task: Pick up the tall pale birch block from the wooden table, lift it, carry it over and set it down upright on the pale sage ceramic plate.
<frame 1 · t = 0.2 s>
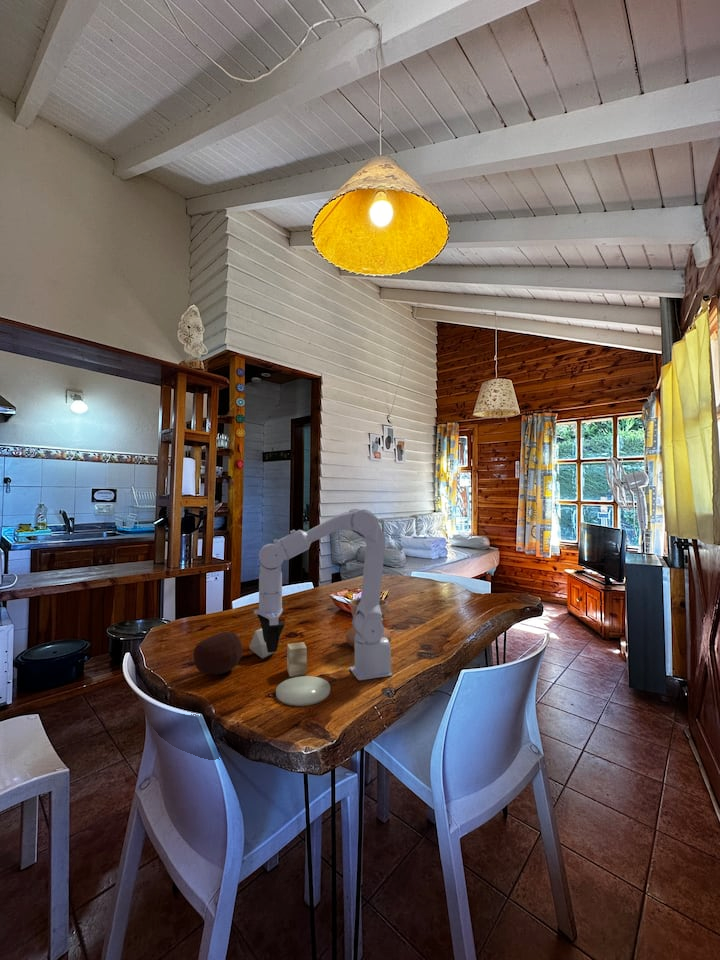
hand: (270, 646, 101), 10 cm above the table, tool pointing down, fingers open, 7 cm apart
ceramic jug: (367, 646, 128), on the table
potato: (218, 674, 107), on the table
block: (296, 672, 108), on the table
plate: (303, 692, 97), on the table
die: (264, 655, 120), on the table
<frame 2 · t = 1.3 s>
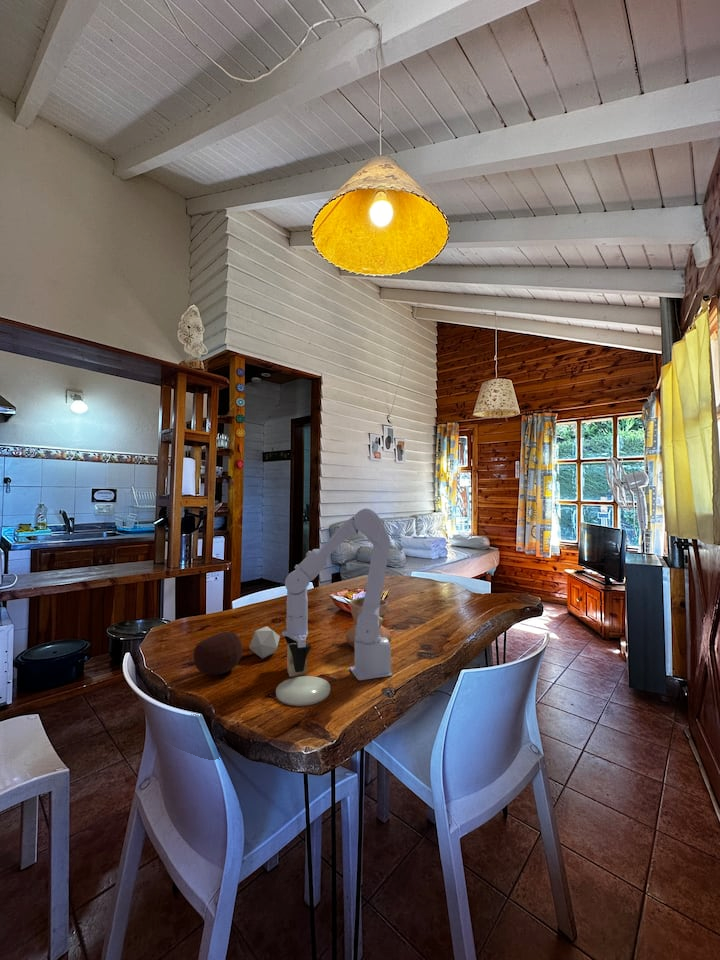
hand: (296, 665, 108), 2 cm above the table, tool pointing down, fingers open, 7 cm apart
nothing on the table moved.
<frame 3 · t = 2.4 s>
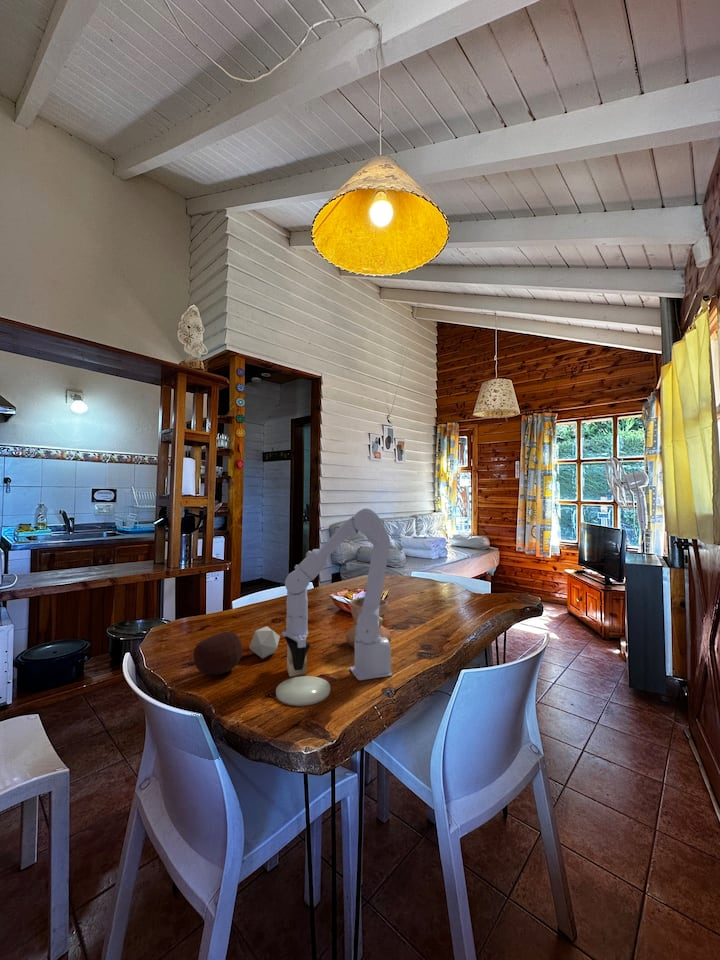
hand: (296, 665, 108), 2 cm above the table, tool pointing down, fingers closed on block, 4 cm apart
block: (296, 671, 108), on the table, touching gripper
everything else where it was.
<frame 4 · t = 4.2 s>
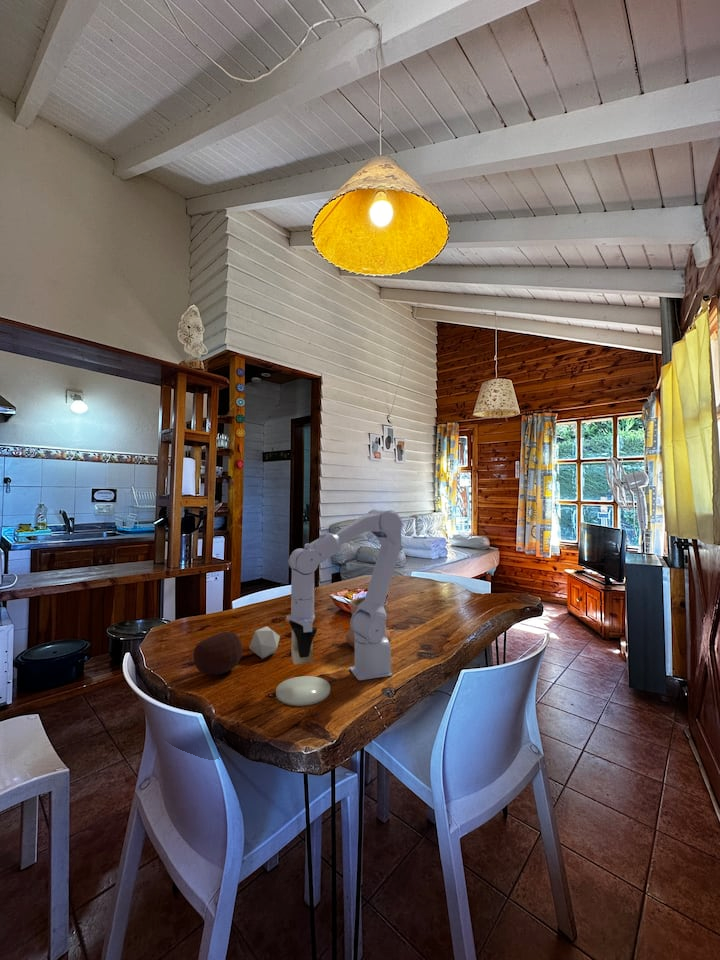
hand: (302, 653, 99), 9 cm above the table, tool pointing down, fingers closed on block, 4 cm apart
block: (301, 660, 99), point 7 cm above the table, touching gripper
everything else where it was.
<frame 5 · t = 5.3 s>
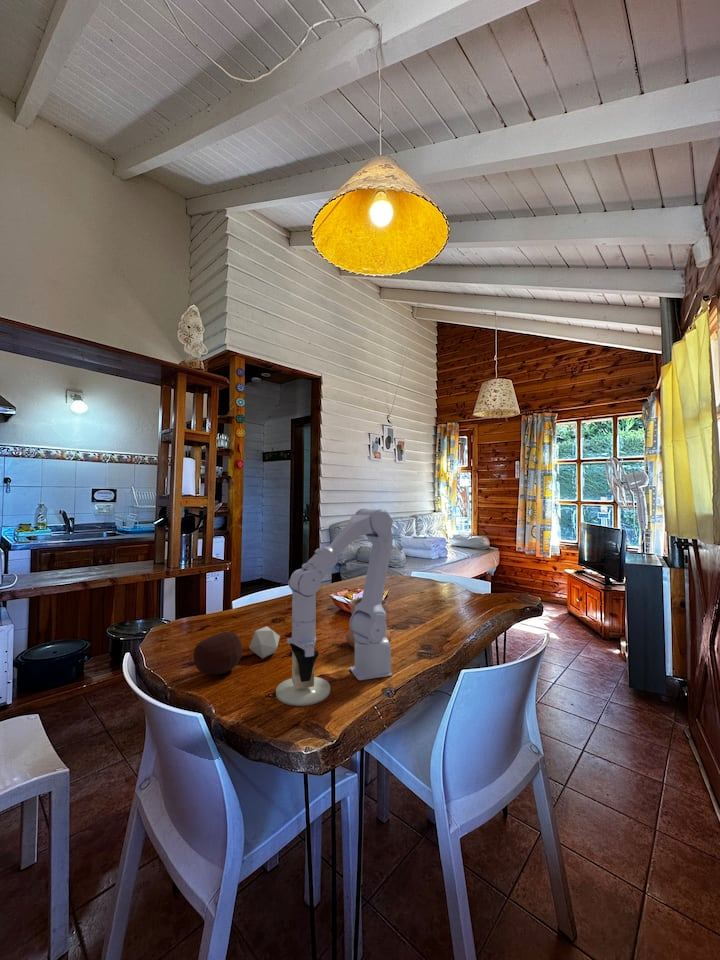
hand: (303, 676, 97), 4 cm above the table, tool pointing down, fingers closed on block, 4 cm apart
block: (302, 683, 97), point 2 cm above the table, touching gripper
everything else where it was.
when the fingers open (4 cm above the table, at t = 6.2 s): block stays where it is, resting on plate.
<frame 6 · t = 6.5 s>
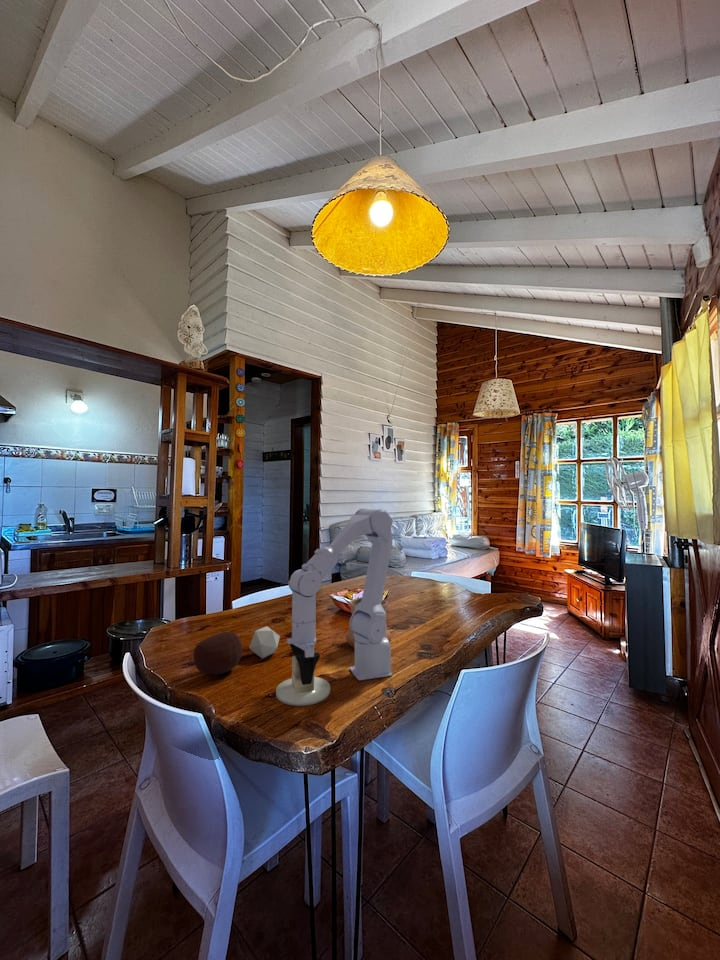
hand: (303, 676, 97), 4 cm above the table, tool pointing down, fingers open, 7 cm apart
block: (302, 687, 97), point 1 cm above the table, touching plate
everything else where it was.
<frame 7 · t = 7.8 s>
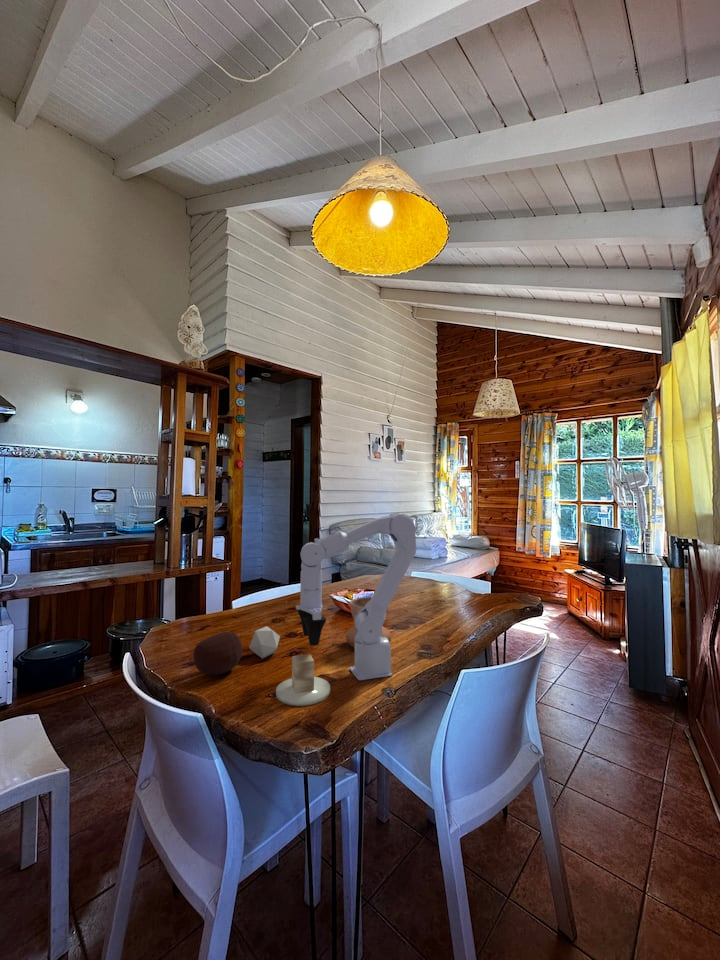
hand: (310, 640, 106), 9 cm above the table, tool pointing down, fingers open, 7 cm apart
nothing on the table moved.
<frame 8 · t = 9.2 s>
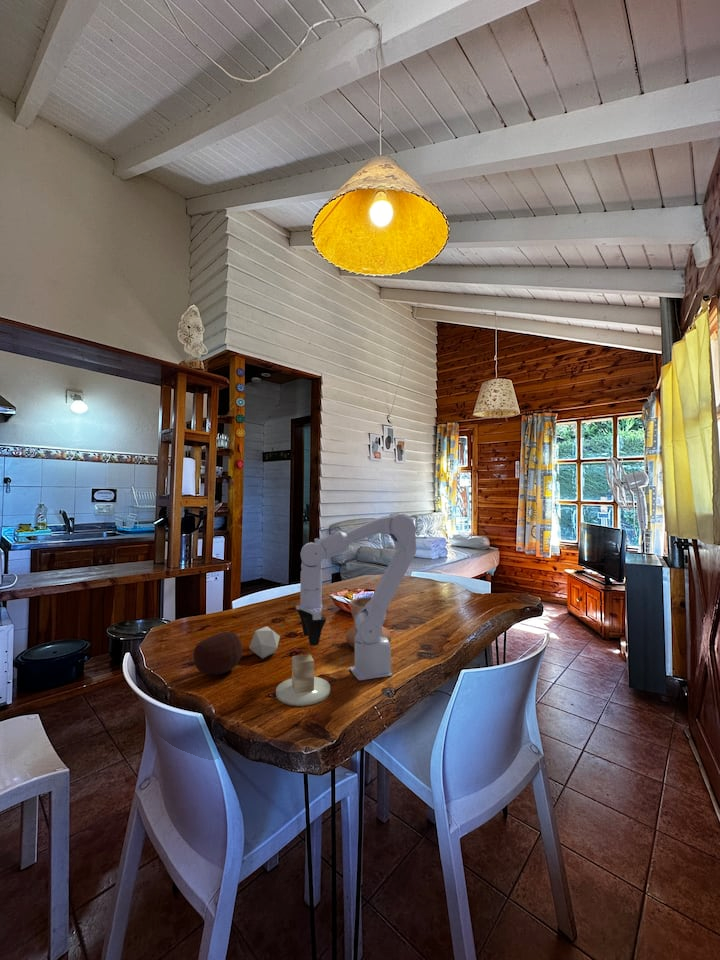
hand: (310, 640, 106), 9 cm above the table, tool pointing down, fingers open, 7 cm apart
nothing on the table moved.
at the end: block inside the target area on the plate (0.1 cm from its centre), point 1.0 cm above the plate's base; block tilted 0°; the gripper is holding nothing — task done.
